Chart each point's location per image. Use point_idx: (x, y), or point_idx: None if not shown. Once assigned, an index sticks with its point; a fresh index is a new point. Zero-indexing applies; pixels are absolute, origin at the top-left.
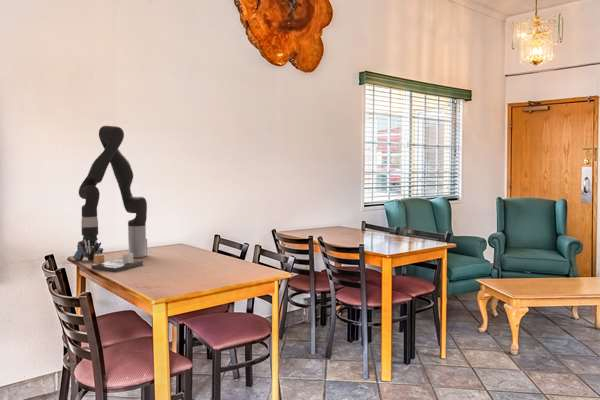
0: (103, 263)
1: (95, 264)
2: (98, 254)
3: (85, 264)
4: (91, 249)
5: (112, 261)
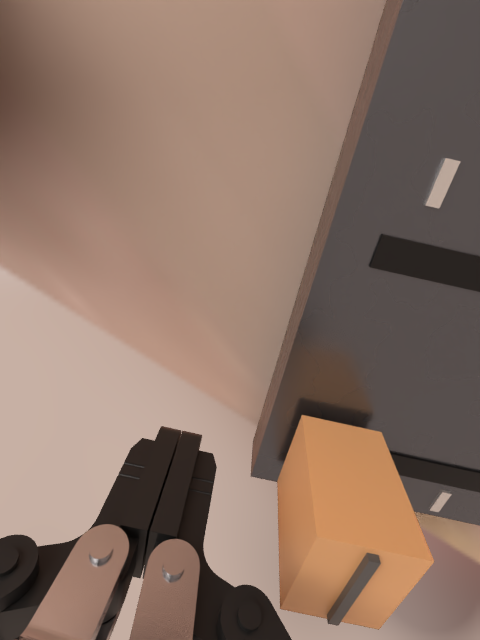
0: (348, 397)
1: (282, 454)
2: (351, 600)
3: (6, 262)
4: (104, 611)
5: (424, 264)
